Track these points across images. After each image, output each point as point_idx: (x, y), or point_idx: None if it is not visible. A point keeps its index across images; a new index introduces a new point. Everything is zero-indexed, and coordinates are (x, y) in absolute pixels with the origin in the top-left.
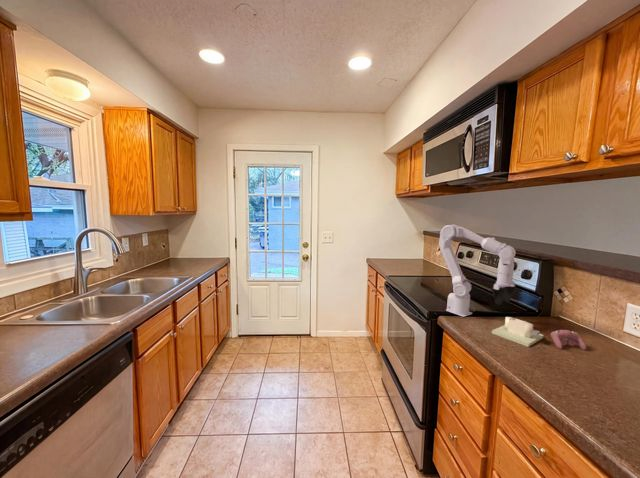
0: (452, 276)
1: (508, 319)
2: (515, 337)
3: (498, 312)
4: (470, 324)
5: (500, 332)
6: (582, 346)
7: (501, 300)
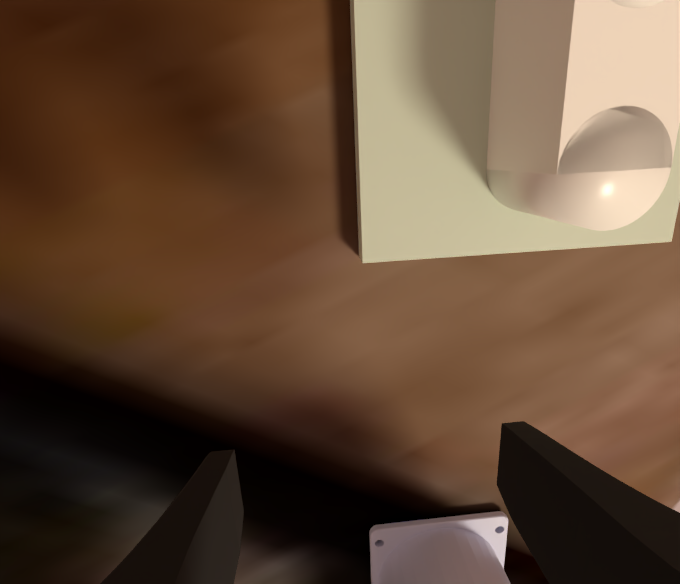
0: None
1: (670, 169)
2: None
3: (106, 466)
4: (600, 409)
5: None
6: None
7: (592, 464)
